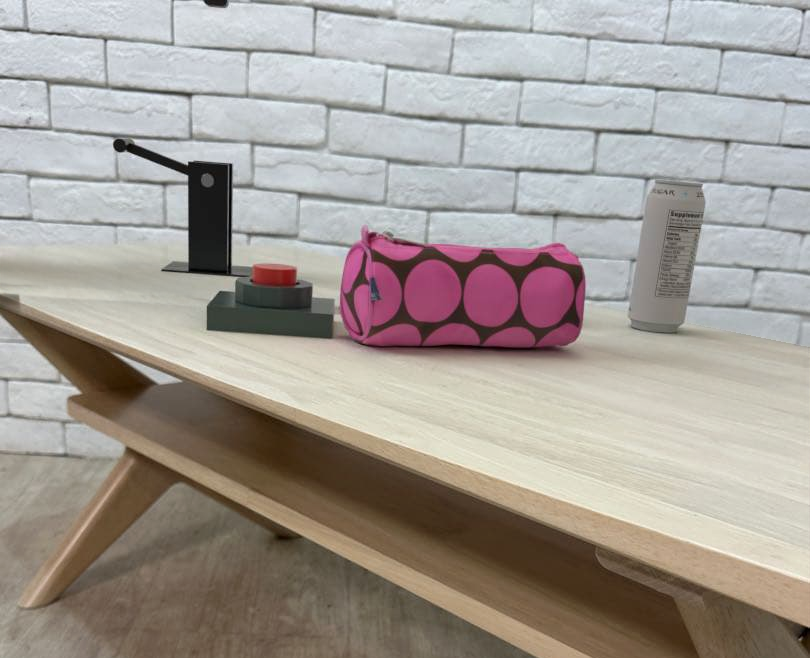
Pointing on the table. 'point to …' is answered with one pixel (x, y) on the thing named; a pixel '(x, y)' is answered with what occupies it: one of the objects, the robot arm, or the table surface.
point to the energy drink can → (666, 255)
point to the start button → (274, 274)
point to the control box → (272, 310)
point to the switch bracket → (210, 222)
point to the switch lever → (148, 155)
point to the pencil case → (460, 294)
